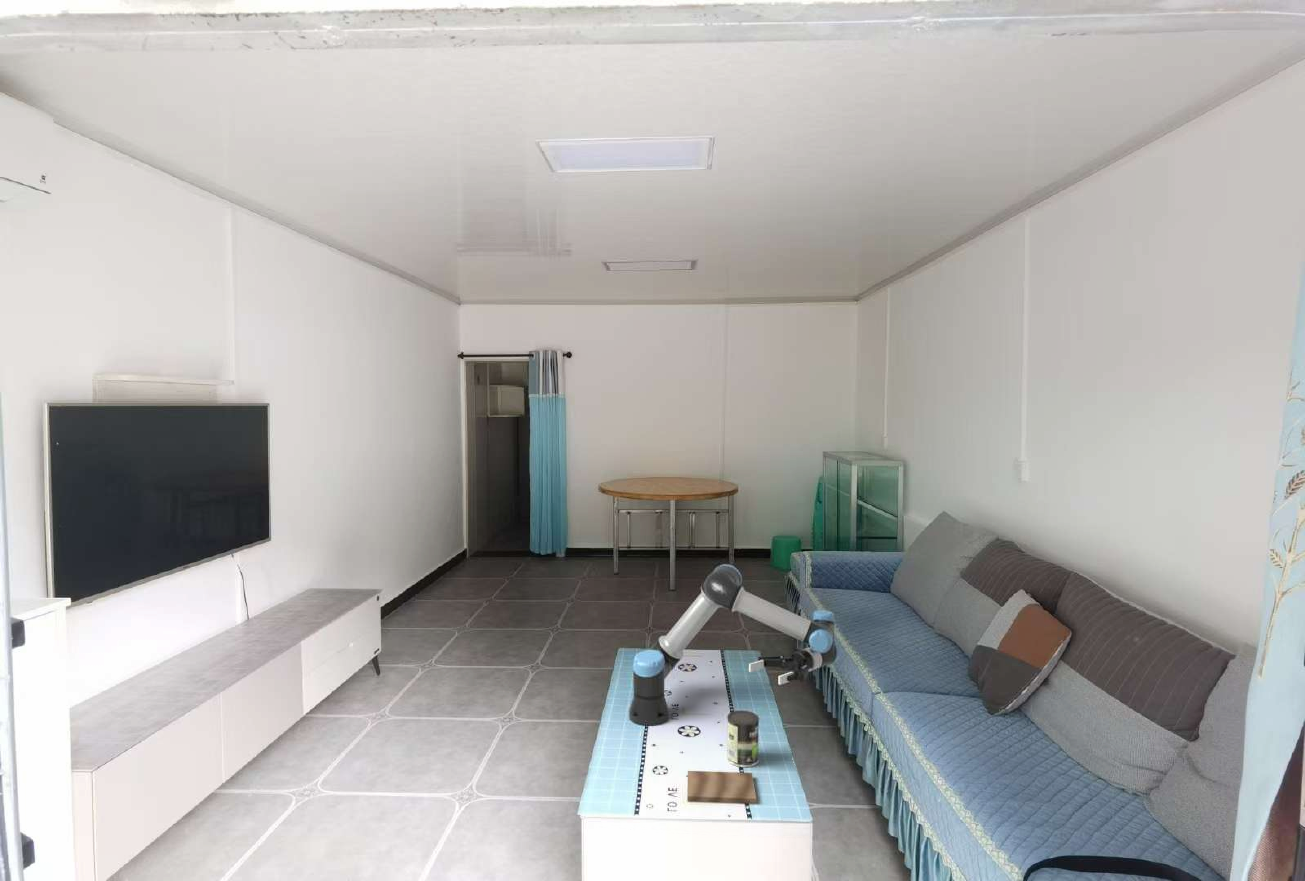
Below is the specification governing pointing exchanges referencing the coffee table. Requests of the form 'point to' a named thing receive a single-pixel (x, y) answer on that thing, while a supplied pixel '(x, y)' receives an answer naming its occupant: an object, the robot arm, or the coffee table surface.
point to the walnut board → (721, 787)
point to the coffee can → (743, 738)
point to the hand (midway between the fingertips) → (764, 674)
